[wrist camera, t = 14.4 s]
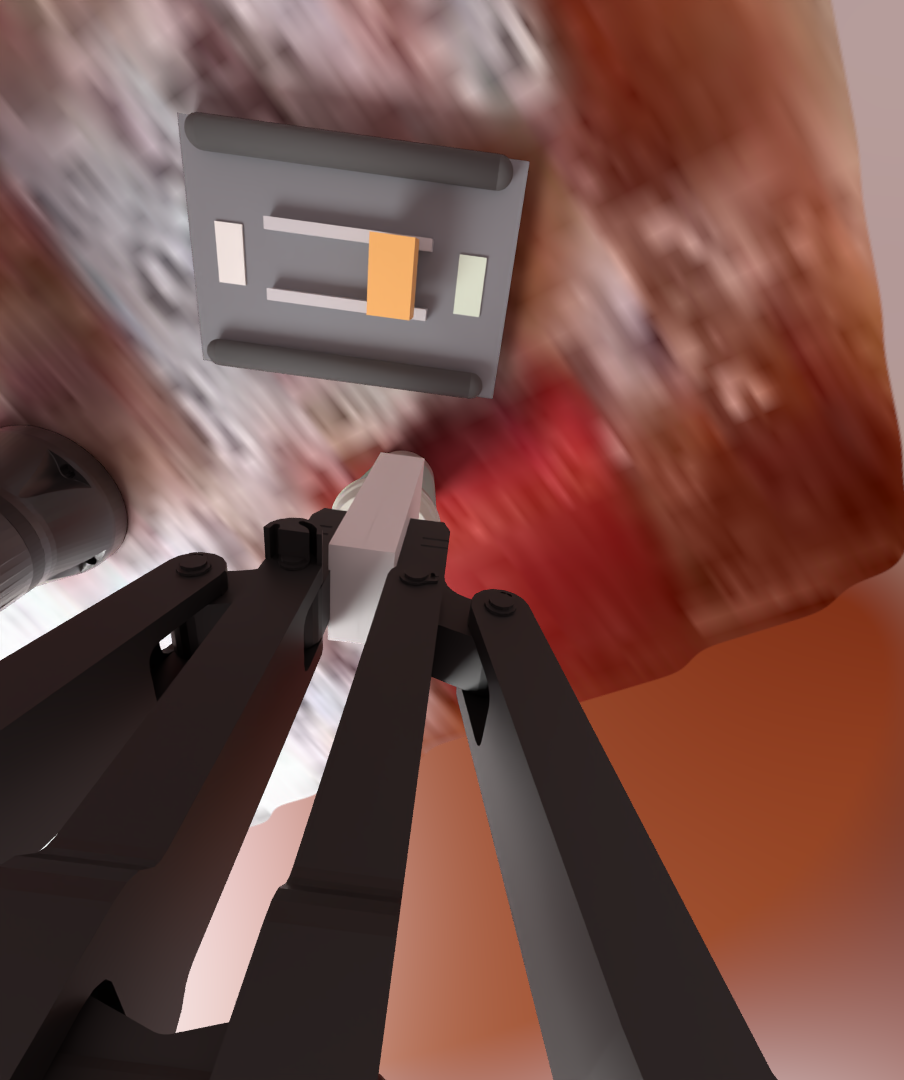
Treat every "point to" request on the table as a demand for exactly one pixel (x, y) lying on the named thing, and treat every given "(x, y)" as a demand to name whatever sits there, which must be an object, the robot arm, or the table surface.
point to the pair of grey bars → (357, 157)
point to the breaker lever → (392, 275)
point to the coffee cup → (427, 493)
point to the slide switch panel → (348, 259)
